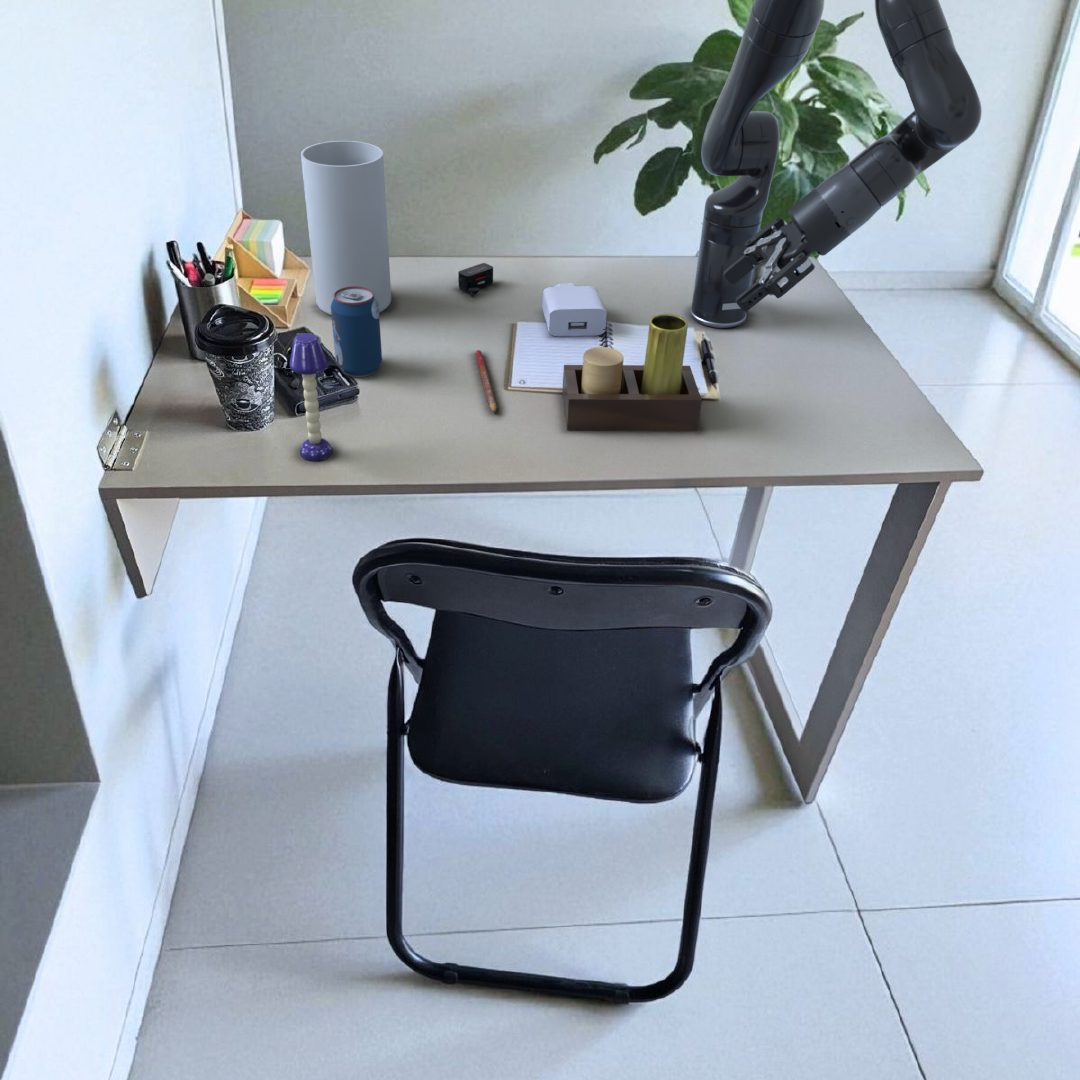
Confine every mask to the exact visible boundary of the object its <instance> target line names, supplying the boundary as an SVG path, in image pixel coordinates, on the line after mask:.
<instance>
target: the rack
mask: <svg viewBox="0 0 1080 1080" xmlns="http://www.w3.org/2000/svg"><path fill="white" fill-rule="evenodd" d="M582 369H583V364H563V372H562V391H561V395H562V403H563V411H564V417H565V424H566V431H650V432H651V431H655V432H656V431H659V432H660V431H661V432H662V431H663V432H665V431H670V432H671V431H672V432H673V431H675V432H676V431H678V432H679V431H680V432H682V431H683V432H685V431H686V432H687V431H688V432H689V431H690V432H691V431H692V432H693V431H694V432H695V431H697V432H698V429H699V421H700V415H701V409H702V402H703V400H702V396H701V394H700V391H699V388H698V385H697V383H696V380H695V376H694V373H693V370H692V367H691V365H683V366H682V375H681V386H680V394H640V392H641V386H642V379H643V372H644V364H642V365H641V364H639V365H637V364H623V370H622V381H621V391H620V394H581V384H582Z"/></svg>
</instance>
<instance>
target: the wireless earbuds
mask: <svg viewBox="0 0 1080 1080" xmlns="http://www.w3.org/2000/svg"><path fill="white" fill-rule="evenodd" d="M457 273H458V274H457V277H458V280H457V281H458V289H459V290H460V291H463V292H464V293H467V294H468V296H470V297H474V296H475V295H478V294H479V293H480V289H482V288H483V289H484V288H485V287H489V286H492V285H493V283H494V266H493V265H491V264H489V263H486V262H482V263H478V264H475V265H472V266H469V267H466V268H463V269H460V270H459V271H457Z"/></svg>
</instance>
